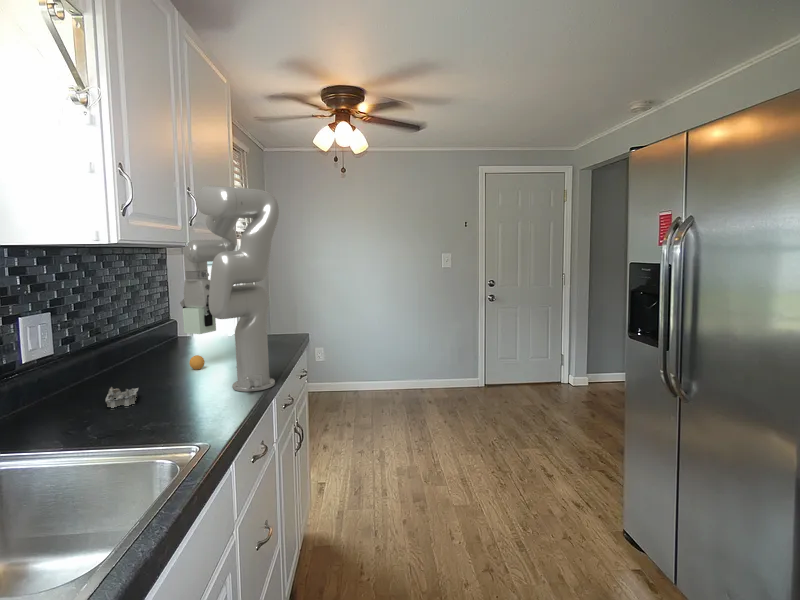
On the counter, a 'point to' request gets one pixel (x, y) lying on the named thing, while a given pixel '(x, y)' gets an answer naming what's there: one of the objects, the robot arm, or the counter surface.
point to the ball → (197, 362)
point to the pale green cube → (196, 321)
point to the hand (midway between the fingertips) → (200, 325)
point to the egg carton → (121, 397)
